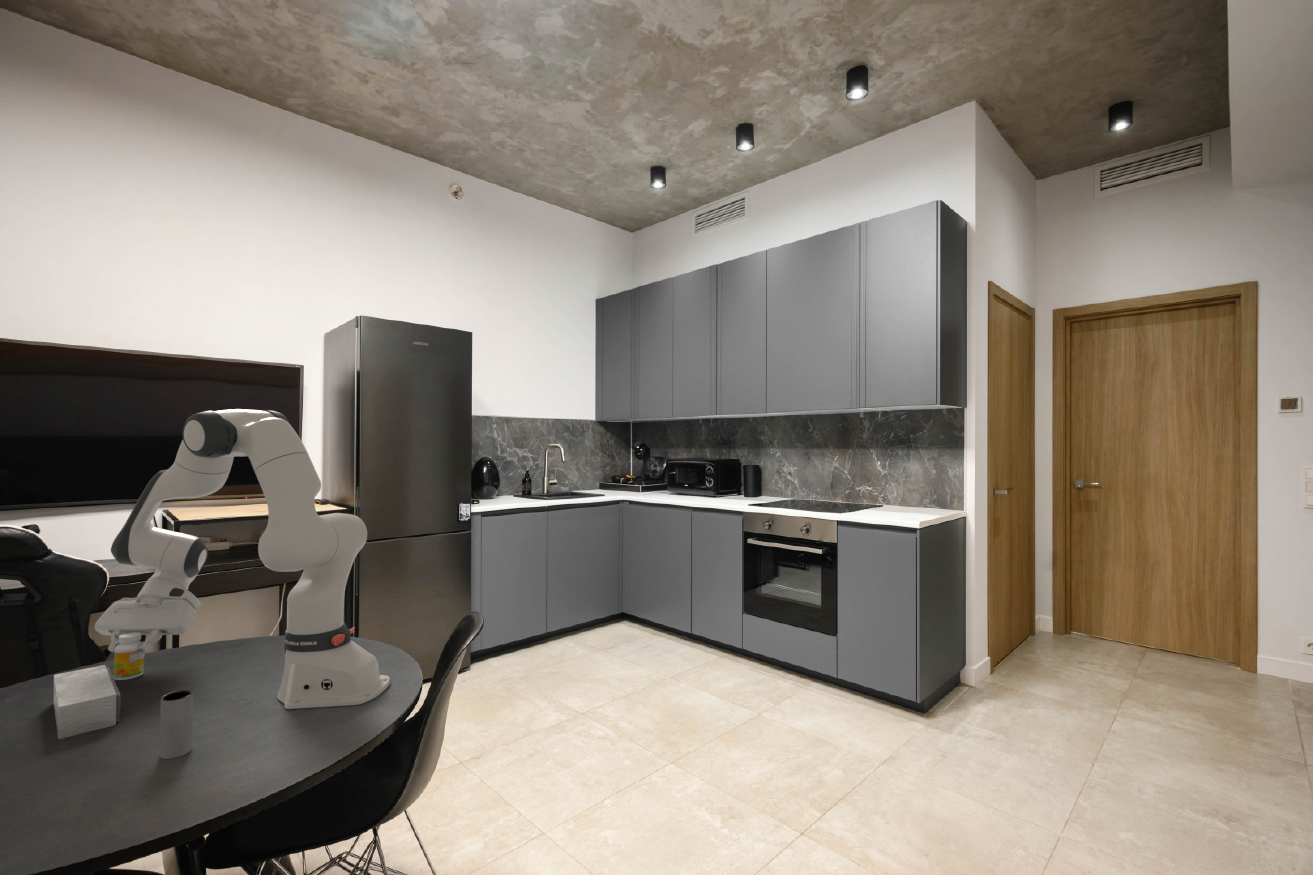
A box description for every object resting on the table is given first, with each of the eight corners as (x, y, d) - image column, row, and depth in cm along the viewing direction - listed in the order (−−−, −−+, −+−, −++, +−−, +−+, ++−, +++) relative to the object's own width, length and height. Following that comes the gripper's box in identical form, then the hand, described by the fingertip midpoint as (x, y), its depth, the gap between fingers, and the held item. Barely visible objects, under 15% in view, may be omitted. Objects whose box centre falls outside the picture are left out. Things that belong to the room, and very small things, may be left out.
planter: (166, 762, 105) (167, 702, 105) (155, 754, 107) (156, 696, 107) (196, 750, 109) (197, 693, 109) (185, 743, 111) (186, 687, 111)
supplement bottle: (108, 678, 140) (109, 636, 141) (135, 670, 145) (136, 630, 145) (121, 682, 138) (123, 639, 138) (149, 674, 143) (150, 633, 143)
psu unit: (121, 723, 119) (122, 692, 119) (58, 739, 112) (58, 707, 112) (110, 690, 134) (110, 663, 134) (53, 703, 127) (53, 674, 127)
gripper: (109, 591, 148) (72, 644, 139) (195, 590, 149) (164, 643, 140) (124, 604, 153) (89, 657, 143) (207, 604, 154) (178, 656, 144)
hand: (127, 650), depth 141 cm, fingers closed on supplement bottle, 5 cm apart
